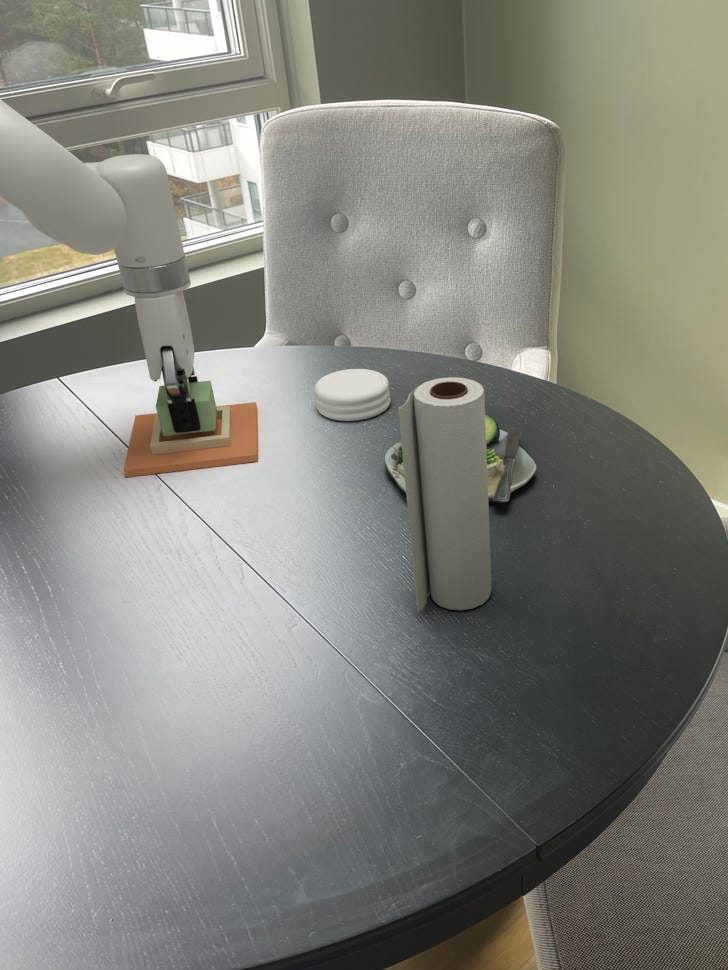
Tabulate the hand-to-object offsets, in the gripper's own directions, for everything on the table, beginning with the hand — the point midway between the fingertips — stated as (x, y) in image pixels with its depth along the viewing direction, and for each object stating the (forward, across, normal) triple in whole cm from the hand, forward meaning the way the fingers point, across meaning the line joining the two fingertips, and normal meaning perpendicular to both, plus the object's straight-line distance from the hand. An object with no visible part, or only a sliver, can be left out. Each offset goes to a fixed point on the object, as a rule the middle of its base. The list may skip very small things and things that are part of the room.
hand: (189, 417), depth 123 cm
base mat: (+3, 0, 0) cm, 3 cm away
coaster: (+3, -5, +21) cm, 22 cm away
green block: (+1, 0, 0) cm, 1 cm away
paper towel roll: (+3, +42, +27) cm, 50 cm away
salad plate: (+3, +17, +32) cm, 36 cm away
